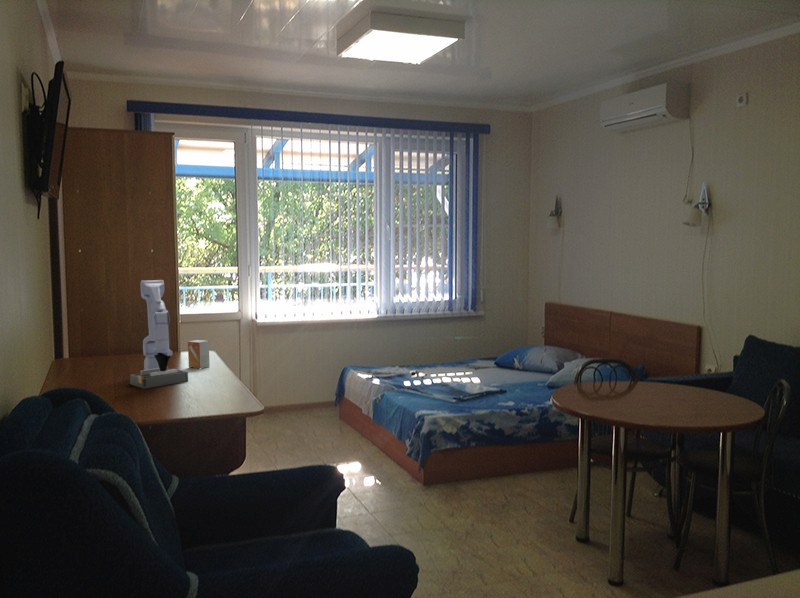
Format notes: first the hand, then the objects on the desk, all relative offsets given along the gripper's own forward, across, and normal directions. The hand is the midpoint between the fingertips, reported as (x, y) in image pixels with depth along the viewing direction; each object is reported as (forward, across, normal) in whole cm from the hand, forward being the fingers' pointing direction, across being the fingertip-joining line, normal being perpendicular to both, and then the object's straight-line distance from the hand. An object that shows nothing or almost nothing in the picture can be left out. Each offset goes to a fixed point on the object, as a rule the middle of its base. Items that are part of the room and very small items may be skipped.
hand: (163, 370), depth 291 cm
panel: (+5, 0, 0) cm, 5 cm away
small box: (+6, -26, +31) cm, 41 cm away
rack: (+6, -4, 0) cm, 7 cm away
